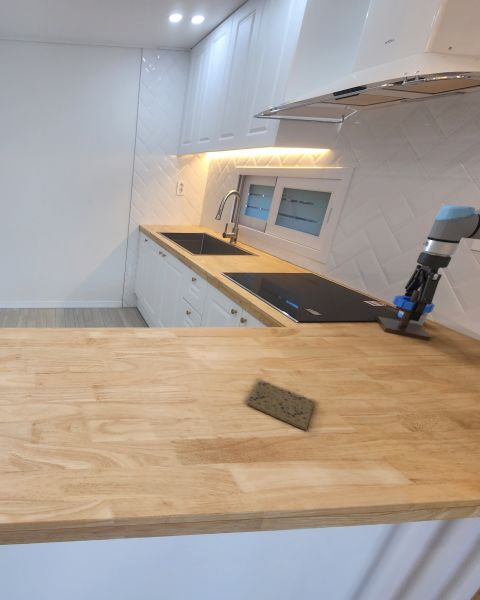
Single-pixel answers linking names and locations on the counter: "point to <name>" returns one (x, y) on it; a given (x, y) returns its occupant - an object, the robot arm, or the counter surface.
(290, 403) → the cookie
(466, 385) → the counter surface
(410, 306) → the blue plastic ring
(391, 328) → the stand
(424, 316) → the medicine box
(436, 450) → the counter surface
